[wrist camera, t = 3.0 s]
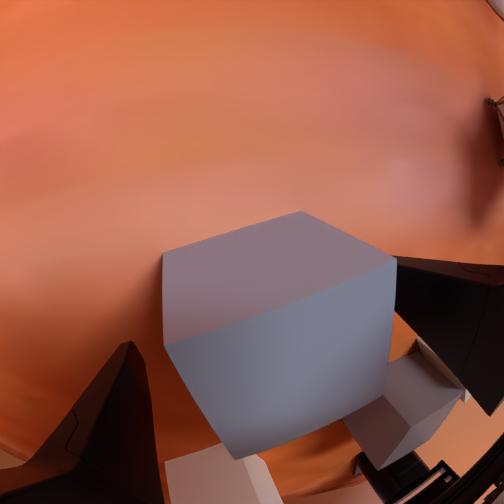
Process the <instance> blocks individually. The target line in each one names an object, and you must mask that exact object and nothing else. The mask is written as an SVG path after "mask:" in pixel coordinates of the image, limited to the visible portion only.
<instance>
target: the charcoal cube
mask: <svg viewBox="0 0 504 504" xmlns="http://www.w3.org/2000/svg"><path fill="white" fill-rule="evenodd" d="M462 393H463V391H462V390H461V389H459V388H458V387H457V386H456V385H455V384H454V383H453V382H452V381H451V380H449V379H448V378H447V377H446V376H445V375H444V374H443V373H442V372H440V371H439V370H438V369H437V368H436V367H435V366H434V365H433V364H431V363H430V362H429V361H428V360H427V359H426V358H425V357H423V356H422V355H421V354H420V353H419V352H418V351H416V352H414V353H411V354H409V355H407V356H404V357H402V358H399V359H397V360H394V361H392V362H389V363H388V365H387V371H386V376H385V382H384V387H383V392H382V396H380V397H379V398H377V399H375V400H374V401H372V402H370V403H369V404H367V405H365V406H363V407H361V408H360V409H358V410H356V411H354V412H352V413H350V414H348V415H347V416H345V417H344V419H343V423H344V424H345V426H346V427H347V429H348V430H349V431H350V433H351V434H352V436H353V437H354V439H355V440H356V441H357V443H358V444H359V446H360V447H361V449H362V450H363V451H364V453H365V454H366V456H367V457H368V458H369V460H370V461H371V463H372V464H373V465H374V467H375V468H376V470H377V471H378V470H380V469H382V468H384V467H386V466H387V465H389V464H391V463H393V462H395V461H396V460H398V459H400V458H401V457H403V456H405V455H406V454H408V453H410V452H411V451H413V450H414V449H416V448H417V447H419V446H420V445H422V444H423V443H425V442H426V441H428V440H429V439H430V438H431V437H432V436H433V435H434V433H435V432H436V430H437V429H438V428H439V427H440V425H441V424H442V423H443V421H444V420H445V418H446V417H447V416H448V414H449V413H450V411H451V410H452V408H453V407H454V405H455V404H456V402H457V401H458V399H459V398H460V396H461V395H462Z"/></svg>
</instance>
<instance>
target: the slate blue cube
mask: <svg viewBox="0 0 504 504" xmlns="http://www.w3.org/2000/svg"><path fill="white" fill-rule="evenodd" d="M396 272H397V259H396V258H394V257H393V256H391V255H389V254H387V253H385V252H383V251H381V250H379V249H377V248H375V247H374V246H372V245H370V244H368V243H366V242H364V241H362V240H360V239H358V238H356V237H354V236H352V235H350V234H348V233H346V232H344V231H342V230H340V229H338V228H336V227H334V226H332V225H330V224H328V223H325V222H323V221H321V220H319V219H317V218H315V217H313V216H311V215H309V214H306V213H304V212H302V211H299V212H295V213H292V214H288V215H285V216H281V217H278V218H274V219H271V220H268V221H264V222H261V223H258V224H254V225H251V226H248V227H244V228H241V229H238V230H234V231H231V232H228V233H225V234H221V235H218V236H215V237H212V238H209V239H205V240H202V241H199V242H196V243H193V244H189V245H186V246H183V247H180V248H177V249H174V250H171V251H168V252H165V253H163V273H162V304H163V340H164V347H165V349H166V351H167V353H168V355H169V357H170V359H171V360H172V362H173V364H174V366H175V368H176V369H177V371H178V373H179V375H180V377H181V378H182V380H183V382H184V384H185V385H186V387H187V389H188V390H189V392H190V394H191V395H192V397H193V399H194V400H195V402H196V404H197V405H198V407H199V408H200V410H201V412H202V413H203V415H204V416H205V418H206V419H207V421H208V422H209V424H210V425H211V427H212V428H213V430H214V431H215V433H216V434H217V436H218V437H219V439H220V440H221V442H222V443H223V444H224V446H225V447H226V449H227V450H228V451H229V453H230V454H231V456H232V457H233V458H234V460H238V459H241V458H244V457H248V456H251V455H254V454H257V453H260V452H263V451H266V450H269V449H271V448H274V447H277V446H279V445H282V444H285V443H287V442H290V441H292V440H295V439H297V438H300V437H302V436H304V435H307V434H309V433H311V432H313V431H316V430H318V429H320V428H322V427H324V426H326V425H329V424H331V423H333V422H335V421H337V420H339V419H341V418H343V417H345V416H347V415H348V414H350V413H352V412H354V411H356V410H358V409H360V408H361V407H363V406H365V405H367V404H369V403H370V402H372V401H374V400H375V399H377V398H379V397H380V396H382V392H383V387H384V382H385V376H386V371H387V365H388V358H389V351H390V344H391V336H392V327H393V318H394V306H395V292H396Z"/></svg>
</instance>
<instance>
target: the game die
mask: <svg viewBox="0 0 504 504" xmlns="http://www.w3.org/2000/svg"><path fill="white" fill-rule="evenodd" d="M485 101H486V102H487V103H488V105H491V107H492V106H494V107H495V108H496V111H497V115H498V119H499V123H500V127H501V132H502V137H503V141H504V96H503V97H502V98H501V99H500V100H499V101H498V102H494V101H493V100H492V99H490V98H489V99H485ZM500 166H504V159H503V160H501V164H500Z"/></svg>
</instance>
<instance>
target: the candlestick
mask: <svg viewBox="0 0 504 504" xmlns="http://www.w3.org/2000/svg"><path fill="white" fill-rule="evenodd" d="M487 1H488V2H489V4H490V5H491V6H492V7H493V9H494V10H495V11H496V12H497V13H498V14H499V15H500V16H501V17H502V18H503V19H504V0H487Z"/></svg>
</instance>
